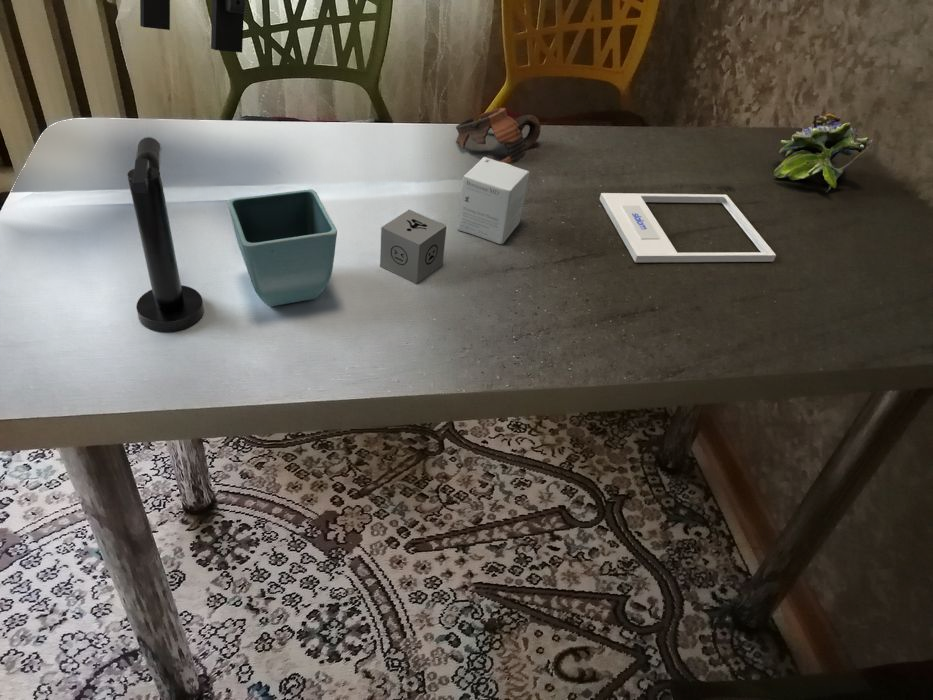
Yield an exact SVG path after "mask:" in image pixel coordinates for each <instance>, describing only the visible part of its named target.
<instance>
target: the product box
mask: <svg viewBox="0 0 933 700" xmlns="http://www.w3.org/2000/svg"><path fill="white" fill-rule="evenodd" d="M499 161H500V160H495V159H492V158H490V157H486V156H483V157H482V158H481V159H480V160H479V161H478V162H477V163H476V164H475V165H474V166H473V167H472V168H471V169H470V170H468V171H467V173H465V174H464V175H463V178H462V188H461V194H460V202H459V211H458V219H457V220H458V221H457V230H458V231H460V232H464V233H467V234H470V235H473V236H476V237H478V238H481V239H485V240H487V241H489V242H492V243H495V244H498V245H504V244H505V242H506V241H507V239H508V238H509V237H510V235H511V234H512V233H513V232H514V231H515V229H516V228H517V227H518V226H519V225H520V223H521V218H522V212H523V209H524V203H525V198H526V193H527V186H528V181H529V176H530V171H529V170H526V169H524V168H521V167H517V166H514V165H512V164H507V163H504V162H499Z"/></svg>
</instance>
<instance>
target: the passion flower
mask: <svg viewBox="0 0 933 700" xmlns="http://www.w3.org/2000/svg"><path fill="white" fill-rule="evenodd" d="M841 120H842V117H841V116H835V114H831V113H827V114H826V115H825V116H824V115H821V114H817V113H816V114H814V115H813V119H812V121H811V123H812V125H813V126H808V127H807V128H803V127H801V129H802V130H801V131H795V133H793V134H792V135H791V138H790V139H789V140H783V139H782V140H780V144H781V145H782V147H781V148H780V150H779V151H778V154H782V153H784V152H786V151H787V152H786V153H785V156H784V157H785V159H784V160H783V161H782V162H781V163H780V164H779V165H778V166H777V167H776V168H775V169H774V171H773V177H774V176H776V177H777V178H776V179H783V178H788V179H789V180H791V181H798V180H803V179H806V178H808V177H811V176H813V175H816V174H818V173H819V172H821V171H822V176H823V178H824V181H826V183H827V184H828V187H827V189H826V191H825V193H826V192H827V193H828V192H829V191H830V190H831V189H832V188H833V189H836V188H837V180H838V178H839V177H840V176H842V174H844V172H845V170H846V169H847V168H848V167H849V166H851V164H853V163H854V162H855V161H856V160H858V159H859V158H860V157H861V156H863V155H864V154H866V153H867V152H868V151H869V150H870V149H872V148H873V147H872V146H873V140H874V139H873V138H872V139H870V138H869V137H864V138H858V133H859V131H858V129H857V128H856V127H854V126H853V125H852V124H851V122H849V121H848V122H845V123H841ZM855 139H856V141H855ZM869 140H870V141H869ZM853 151H857V152H858V154H857V155H856V156H855V157H854V158H852V159H851V160H850V161H849V162H848V163H846V164H845V165H844V166H841V167H835V166H834V165H833V163H832V161H833V159H834V158H835V157H836V156H837V155H839V154H842V155H845V156H852V155H853Z"/></svg>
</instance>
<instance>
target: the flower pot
mask: <svg viewBox="0 0 933 700" xmlns="http://www.w3.org/2000/svg"><path fill="white" fill-rule="evenodd" d="M226 201H227V206H228V209H229V210H228V211H229V213H230V219H231V222H232V226H233V227H232V228H233V230H234V235H235V239H236V242H237V245H238V248H239V251H240V254H241V256H242V260H243V263H244V265H245V268H246V270H247V273H248V276H249V279H250V282H251V285H252V287H253V290H254V292H255V293H256V295H257V296H258V297H259V299H260V300H261V301H262V302H263V303H264V304H265V305H266V306H268V307H275V306H282V305H287V304H294V303H300V302H305V301H311V300H315V299H318V297H319V296H320V295H321V294H322V292H323V291H324V290H325V288H326V287H327V285H328V283H329V281H330V279H331V277H332V273H333V268H334V264H335V263H334V261H335V255H336V245H337V236H338V230H337V227H336V226H335V224H334V222H333V220H332V218H331V217H330V215H329V213H328V212H327V210H326V208H325V205H324V204H323V203H322V200H321V198H320V196H319V195H318V192H317V191H316V190H315V189H300V190H292V191H284V192H276V193H269V194H260V195H250V196H241V197H233V198H230V199H228V200H226Z"/></svg>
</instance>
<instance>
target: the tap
mask: <svg viewBox="0 0 933 700" xmlns="http://www.w3.org/2000/svg"><path fill="white" fill-rule="evenodd" d="M161 159H162V146H161V143H160V142H159V140H157V139H156V138H153V137H150V136H149V137H144V138H142V139H140V140H139V142H138V144H137V149H136V155H135V161H134V167H133V168H132V169H130V170H129V171H128V172H127V174H126V175H127V180H128V185H129V190H130V195H131V199H132V200H131V201H132V204H133V209H134V213H135V217H136V222H137V227H138V231H139V236H140V241H141V245H142V251H143V254H144V259H145V264H146V268H147V269H146V270H147V274H148V278H149V283H150V286H151V289H150V290H148V291H146V292H145V293H143V294H142V295H141V296H140V297H139V298H138V300H137V302H136V307H135V308H136V313H137V316H138V320H139V322H140V323H141V325H142V326H144V327H145V328H147V329H149V330H152V331H155V332H159V333H160V332H161V333H172V332H173V333H174V332H178V331H183V330H185V329H188V328H190V327H192V326H194V325H195V324H197V323H198V322H199V321H200V320H201V318H202V317H203V315H204V312H205V309H204V300H203V297H202V295H201V294H200V292H199V291H197V290H196V289H194V287H193V288H192V287H190V286H188V285H183V284H182V283H181V278H180V273H179V268H178V267H179V266H178V262H177V256H176V251H175V246H174V240H173V234H172V229H171V224H170V219H169V212H168V208H167V207H168V206H167V203H166V197H165V196H166V195H165V192H164V185H163V179H162V176H161V175H162V174H161V171H160V169H161Z"/></svg>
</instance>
